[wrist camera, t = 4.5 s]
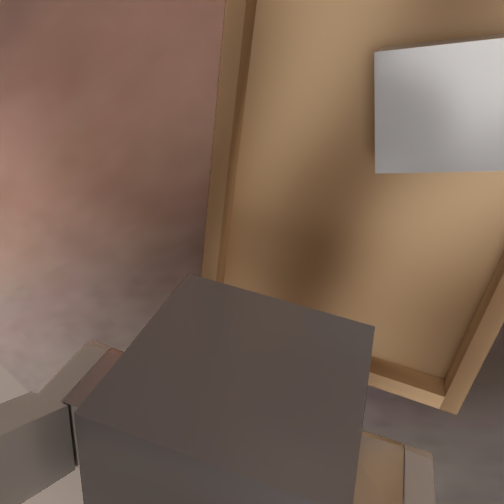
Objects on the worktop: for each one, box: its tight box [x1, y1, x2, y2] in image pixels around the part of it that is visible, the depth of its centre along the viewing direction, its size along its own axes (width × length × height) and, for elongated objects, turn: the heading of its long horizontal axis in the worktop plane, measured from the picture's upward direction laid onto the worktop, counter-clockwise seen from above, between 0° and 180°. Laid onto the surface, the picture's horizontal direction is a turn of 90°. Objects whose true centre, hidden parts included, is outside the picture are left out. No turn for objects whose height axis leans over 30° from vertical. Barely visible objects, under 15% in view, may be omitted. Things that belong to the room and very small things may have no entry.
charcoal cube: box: [74, 274, 375, 504], centre depth 9 cm, size 4×4×4 cm
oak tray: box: [201, 0, 504, 415], centre depth 13 cm, size 10×20×1 cm, turn 172°
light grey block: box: [374, 33, 504, 174], centre depth 12 cm, size 4×3×2 cm
